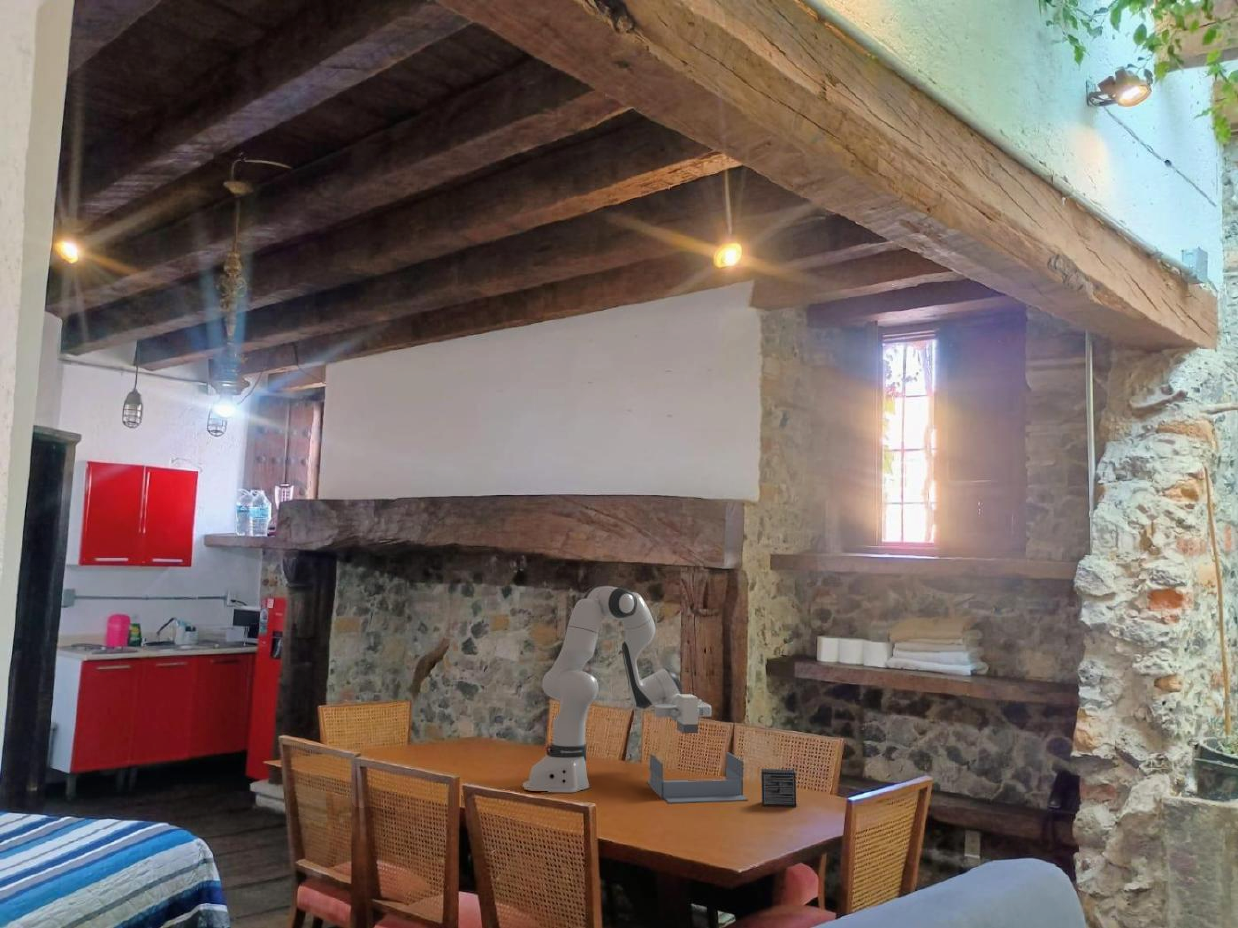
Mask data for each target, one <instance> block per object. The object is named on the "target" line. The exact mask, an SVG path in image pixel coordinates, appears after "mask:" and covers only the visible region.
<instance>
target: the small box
mask: <svg viewBox="0 0 1238 928" xmlns="http://www.w3.org/2000/svg"><path fill="white" fill-rule="evenodd" d="M760 775H761V805H762V807H777V806H780V807H785V808H796V807H797V806H798V805H797V779H796V775H797V773H796V771H795V769H790V768H789V769H782V768H781V769H780V768H779V769H778V768H761V774H760ZM780 807H779V808H780Z"/></svg>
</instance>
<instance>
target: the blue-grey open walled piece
mask: <svg viewBox="0 0 1238 928" xmlns="http://www.w3.org/2000/svg"><path fill="white" fill-rule="evenodd" d="M725 754H726V755H725V756H726V762H725V763H726V766H725V779H720V780H715V779H716V778H715V779H714V778H712V779H711V778H710V779H709V778H708V779H704V780H713V781H698V780H699V779H696V780H697V781H688V780H689V779H683V780H682V779H679V780H677V779H676V780H665V779H664V763H663V762H662V761H661V760H660V759H659V758H657V757H656V756H654V755H653V754H652V753H650V754H649V770H650V771H649V772H650V773H649V774H650V775H649V776H650V777H649V778H650V780H648V781H646V783H647V784H648V785H649V787H650V789H651V788H652V789H651V790H652V791H653V792H655V794H657V795H658V796H659V798H660V799H664V800H665V801H666V802H667V803H668V804H690V803H692V804H693V803H714V802H715V803H718V802H721V803H722V802H746V800H748V801H749V799H748V798H747V797H745V796H744V760H742V759H740V758H739V757H737V756H736V755H734V754H732V753H730V752H728V751H726V753H725Z"/></svg>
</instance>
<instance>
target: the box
mask: <svg viewBox="0 0 1238 928" xmlns="http://www.w3.org/2000/svg"><path fill="white" fill-rule="evenodd" d="M698 699H699V697H698V696H695V695H694V694H691V693H690V694H689V693H686V694H685V693H684V694H683V693H682V694H677V707H678V709H677V711H681V716H678V717H677V721H676V730H677V731H679V732H680V733H682V734H685V735H686V734H699V718H698Z"/></svg>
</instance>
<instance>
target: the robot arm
mask: <svg viewBox="0 0 1238 928" xmlns="http://www.w3.org/2000/svg"><path fill="white" fill-rule="evenodd" d="M604 618H607V619H616V618H617V619H620V621H621V624H622V627H623V630H624V641H623V643H622V644H621V654H622V658H623V659H622V660H623V663H624V664H623V665H624V669H625V673H626V679H627V684H628V691H629V697H630V700H631V702H632V704H633V705H634V707H636V708H639V709H641V710H647V709H648V708H649V707H651V706H652V705H653V704H655V705H654V707H653V708H652V707H651V708H650V710H651V712H654V716H655V717H656V718H669V719H671V720H673V721H675V722H677V717H678V716H681V711H677V709H678V707H677V694H683V693H682V692H683V687H682V683H681V682H680V679H679V677H678V676H677V674H676V673H675V672H674V671H672V670H671V669H669V668H662V669H660V670H658V671H656V672H653V673H652V674H650V675H648V676H646V677H644V678H643V679H641V678H640V674H639V670H638V669H639V668H638V664H637V661H638V658H639V656H640V654H641V653H642V652H643V651H644V649H645V648H647V647H648V646H649V645H650V644H651V642H652V640H653V639H654V637H655V634H656V629H657V628H656V623H655V621H654V618H653V615H652V614H651V611H650V610H649V607H648V605H647V603H646V602H645V600H644V599H643V597H642V596H641V594H639V593H638V592H633V591H631V590H628V589H627V588H624V587H617V586H611V585H606V586H605V585H603V586H600V585H598V586H593V587H591V588H589V589H588V590H587V591H586V592H585V594H584V596H583V598H581V599H579V600H578V601H577V602H576V603H575V605H574V608H573V609H572V612H571V615H570V618H569V621H568V624H567V628H566V632H565V636H564V640H563V643H562V646H561V649H560V652H559V654H558V656H557V659H556V660H555V661H554V663H553V665H552V667H551V668H550V669H549V670H548V671H547V672H546V673H545V674H544V676H543V678H542V682H541V684H542V685H541V686H542V690H543V691H544V693H545V694H546V695H547V696H548V697H550V698H551V699H553V700H555V701H560V702H561V703H560V708H559V711H558V713H557V715H556V716H555V717H554V719H553V721H552V743H550V744H549V743H545V744H544V746H543V748H544V750H546V755H545V756H544V757H543V758H542V759H541V760H539V761H538V762H536V763H535V764H534V765H533V766H532V767H531V770H530V772H529V778H528V780H526V781H524V782H523V783H522V788H523V787H524V788H528V789H530V790H543V791H548V792H547V793H569V794H570V793H576V792H579V791H581V790H582V791H583V790H586V789H588V788H590V783H589V779H588V778H589V777H588V775H587V774H588V773H587V764H586V763H587V757H588V754H587V753H588V750H587V749H588V748H587V744H586V730H587V729H586V725H587V717H588V712H589V710H590V707H591V704H592V702H593V701H594V700H596V698H597V696H598V694H599V687H600V686H599V683H598V681H597V678H596V677H594V676H593V675H592V674H590V673H588V672H586V671H583V669H584V668H585V666H586V664H587V663H588V662H589V661H590V660H591V659H592V658H593V656H594V654H595V651H596V645H597V643H598V637H599V634H600V628H601V623H602V621H603V619H604ZM656 703H658V704H656ZM712 711H713V710H712V705H710V704H709V703H707V702H704V701H703V700H702V699H701V698H698V719H701V718H702V717H705V718H706V717H712Z"/></svg>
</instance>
